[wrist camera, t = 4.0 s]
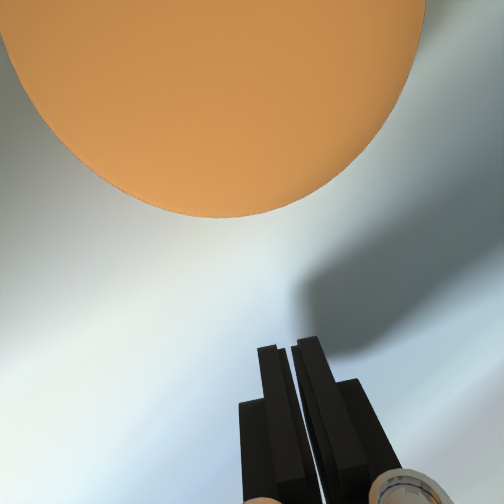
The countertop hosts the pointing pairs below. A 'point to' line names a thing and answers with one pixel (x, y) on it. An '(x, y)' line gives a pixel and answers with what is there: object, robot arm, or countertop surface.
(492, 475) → the countertop surface
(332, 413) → the robot arm
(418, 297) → the countertop surface
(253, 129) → the ball
